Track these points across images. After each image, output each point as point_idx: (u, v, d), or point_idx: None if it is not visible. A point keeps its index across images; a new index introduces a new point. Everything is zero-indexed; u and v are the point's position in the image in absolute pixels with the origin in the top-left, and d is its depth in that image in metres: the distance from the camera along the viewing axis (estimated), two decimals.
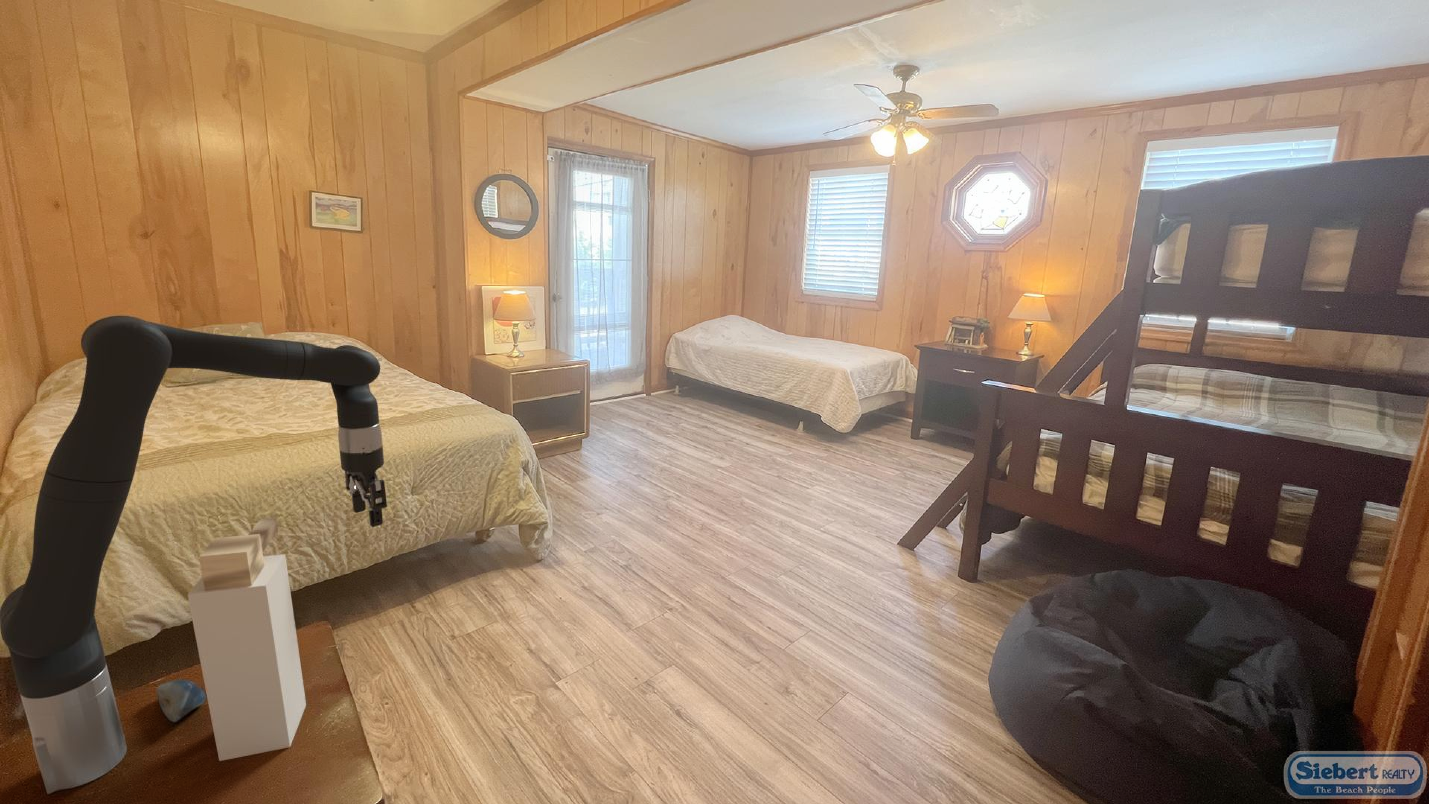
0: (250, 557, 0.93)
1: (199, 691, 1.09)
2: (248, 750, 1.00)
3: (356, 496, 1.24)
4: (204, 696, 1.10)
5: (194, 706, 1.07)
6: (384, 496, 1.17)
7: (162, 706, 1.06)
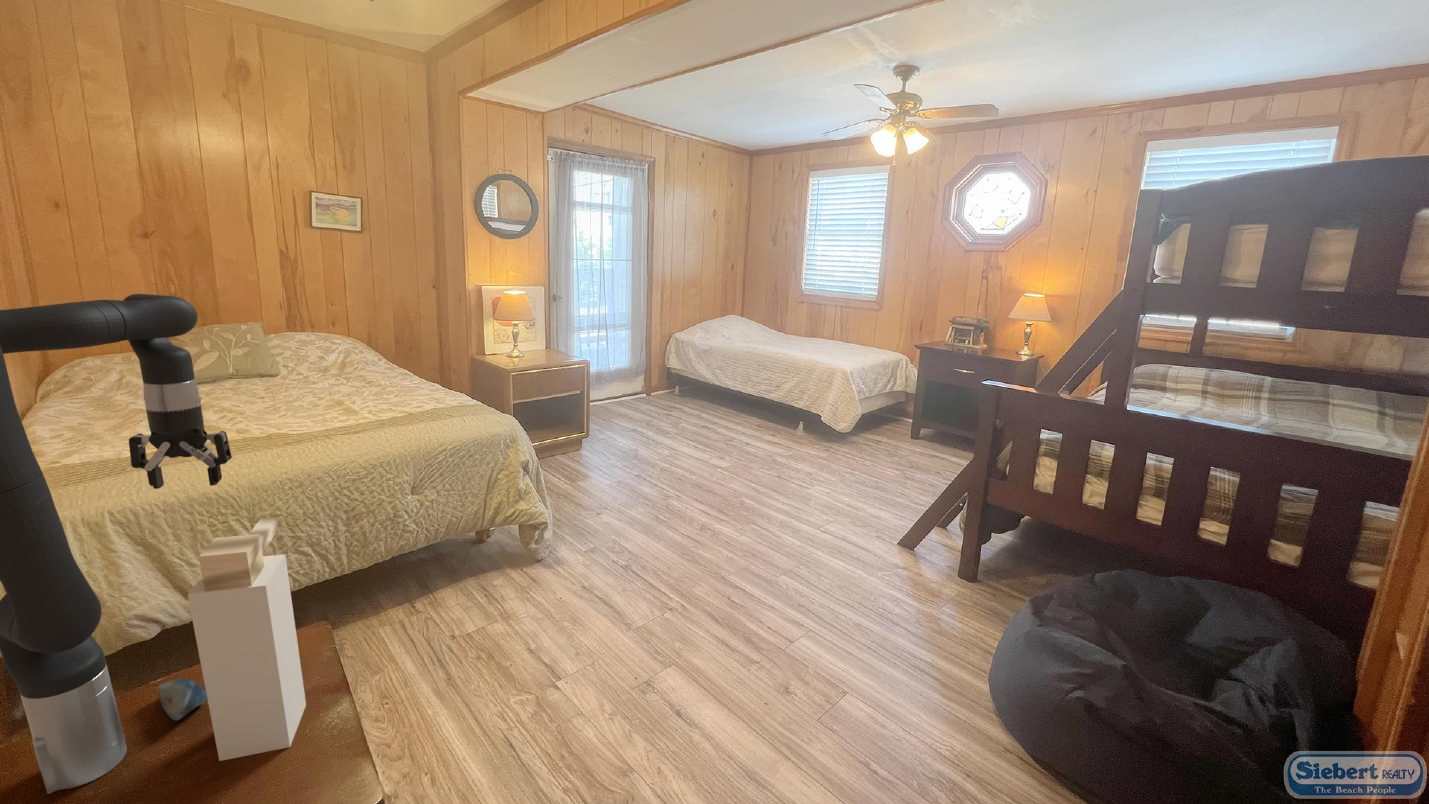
0: (250, 557, 0.93)
1: (201, 690, 1.10)
2: (248, 750, 1.00)
3: (156, 469, 1.10)
4: (206, 695, 1.10)
5: (196, 704, 1.07)
6: (228, 447, 1.14)
7: (164, 705, 1.06)
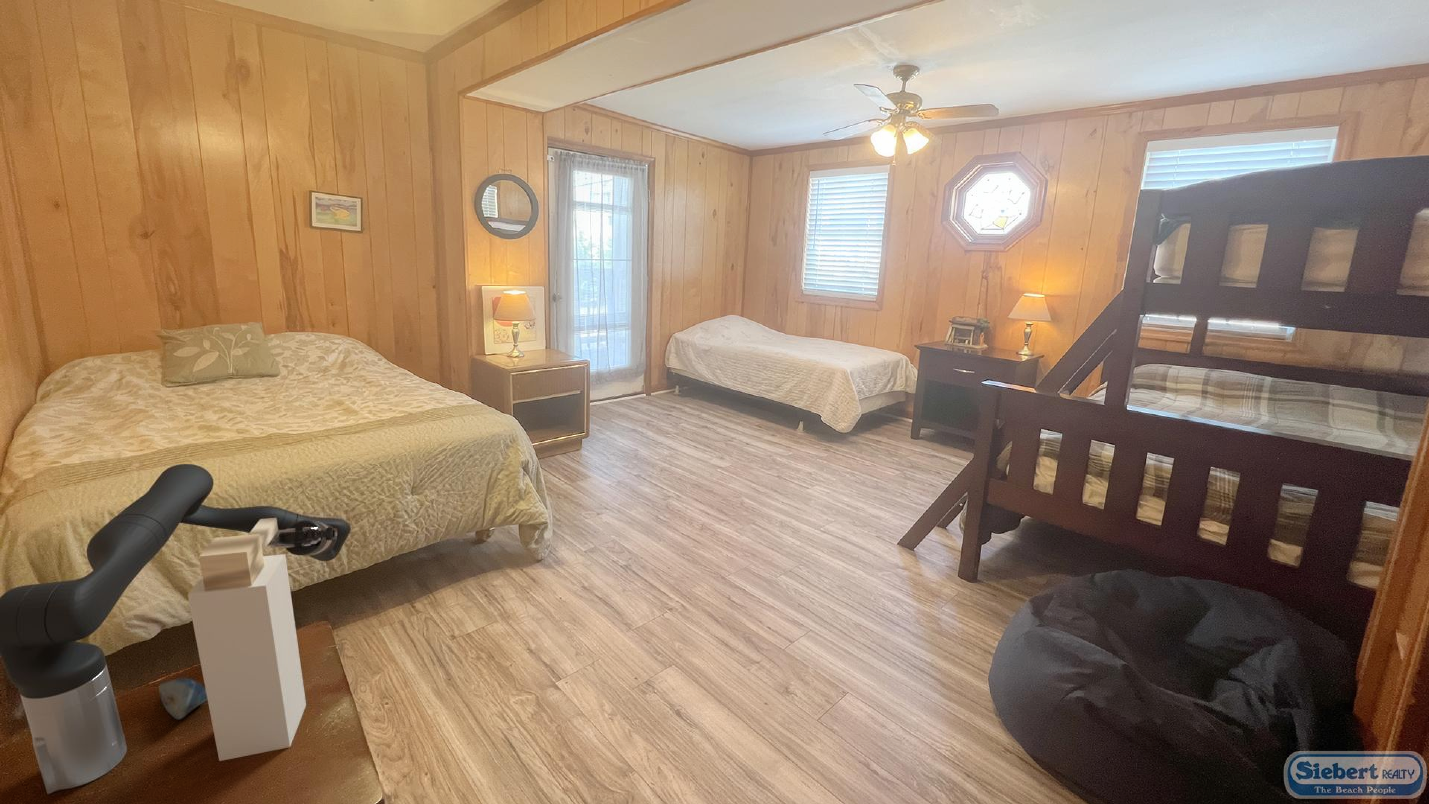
0: (250, 557, 0.93)
1: (202, 688, 1.10)
2: (248, 750, 1.00)
3: None
4: None
5: (198, 703, 1.07)
6: (334, 538, 1.26)
7: (166, 704, 1.06)
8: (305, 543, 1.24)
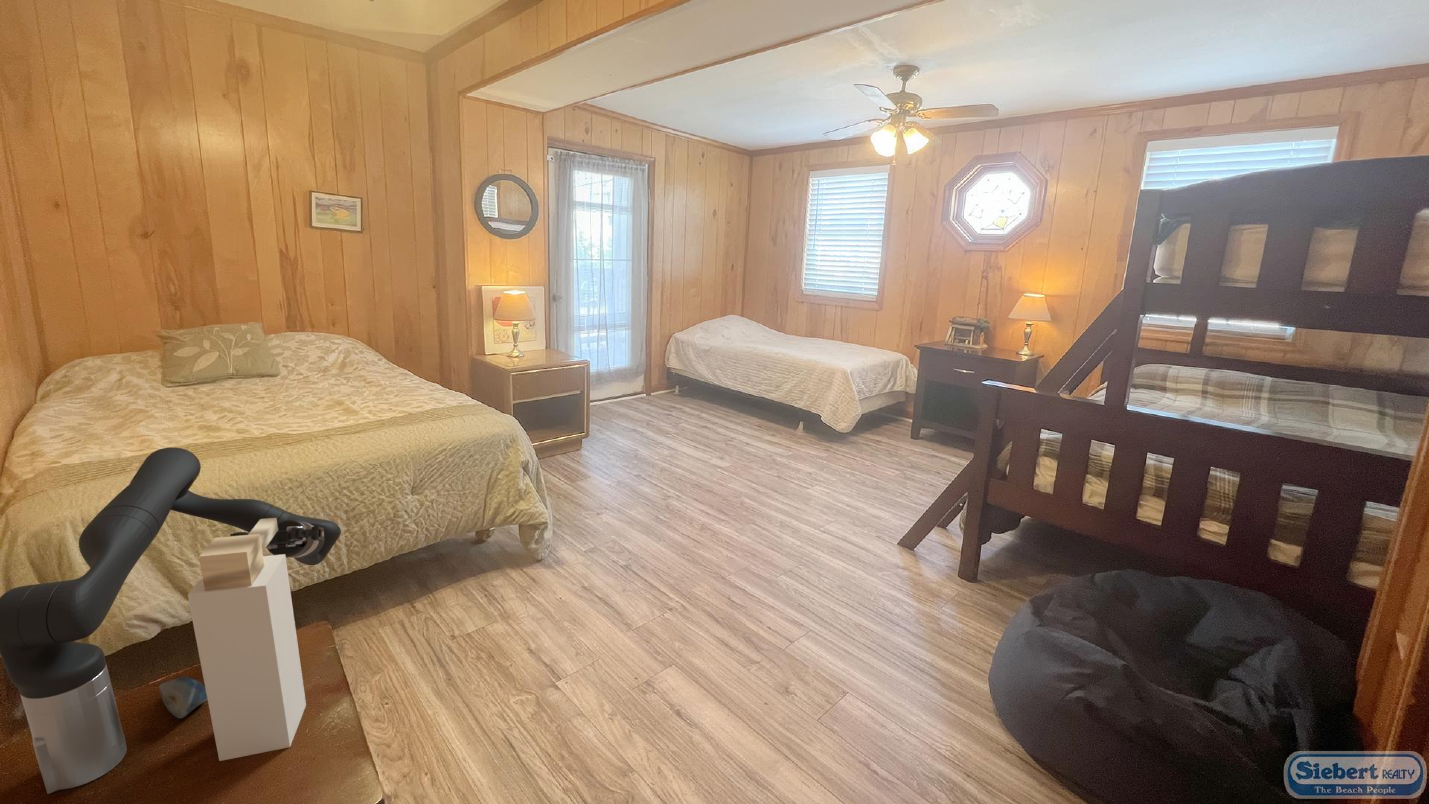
0: (250, 557, 0.93)
1: (203, 688, 1.10)
2: (248, 750, 1.00)
3: None
4: None
5: (200, 702, 1.08)
6: (320, 538, 1.17)
7: (167, 703, 1.06)
8: (289, 543, 1.15)
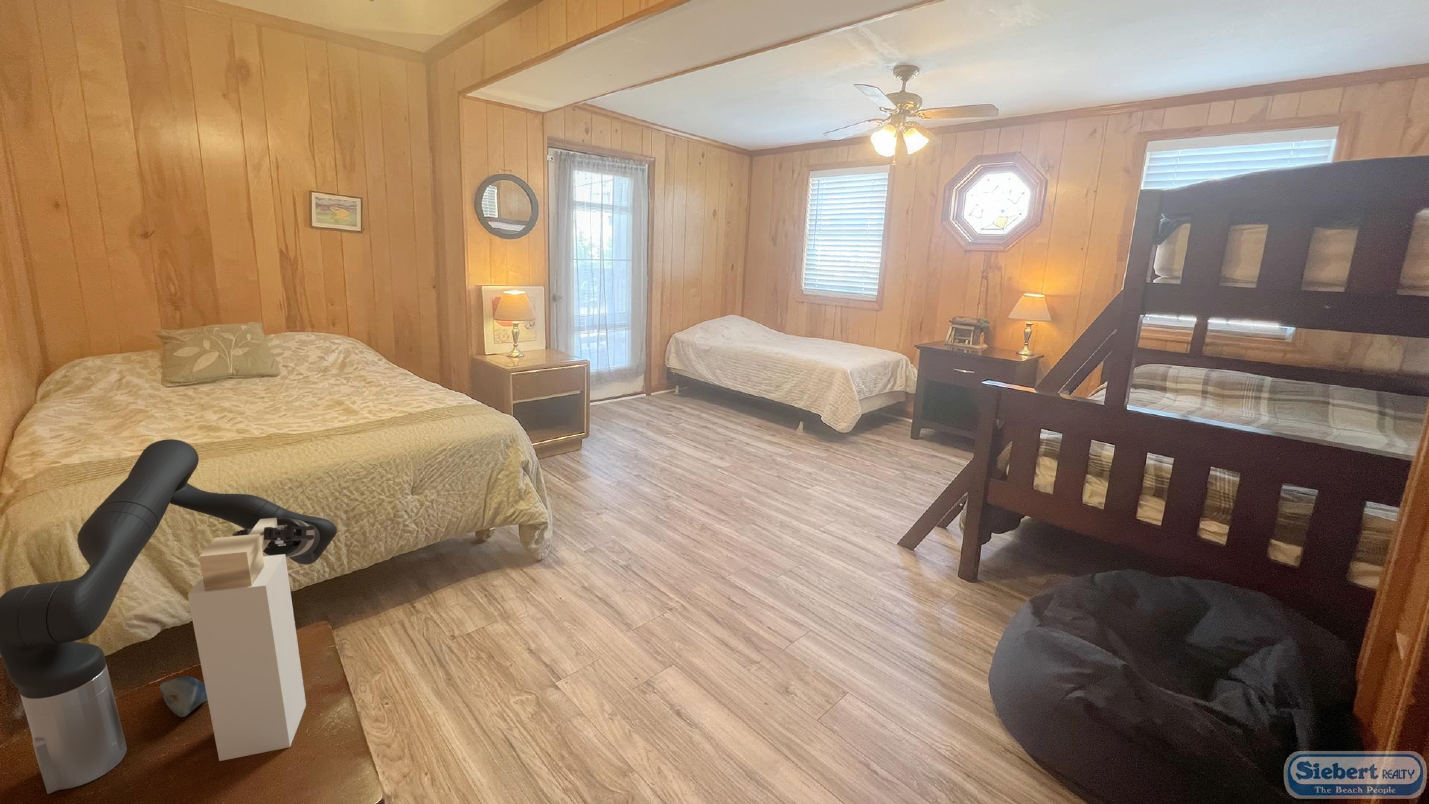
0: (250, 557, 0.93)
1: (204, 686, 1.10)
2: (248, 750, 1.00)
3: None
4: None
5: (202, 700, 1.08)
6: (301, 537, 1.11)
7: (169, 702, 1.06)
8: None
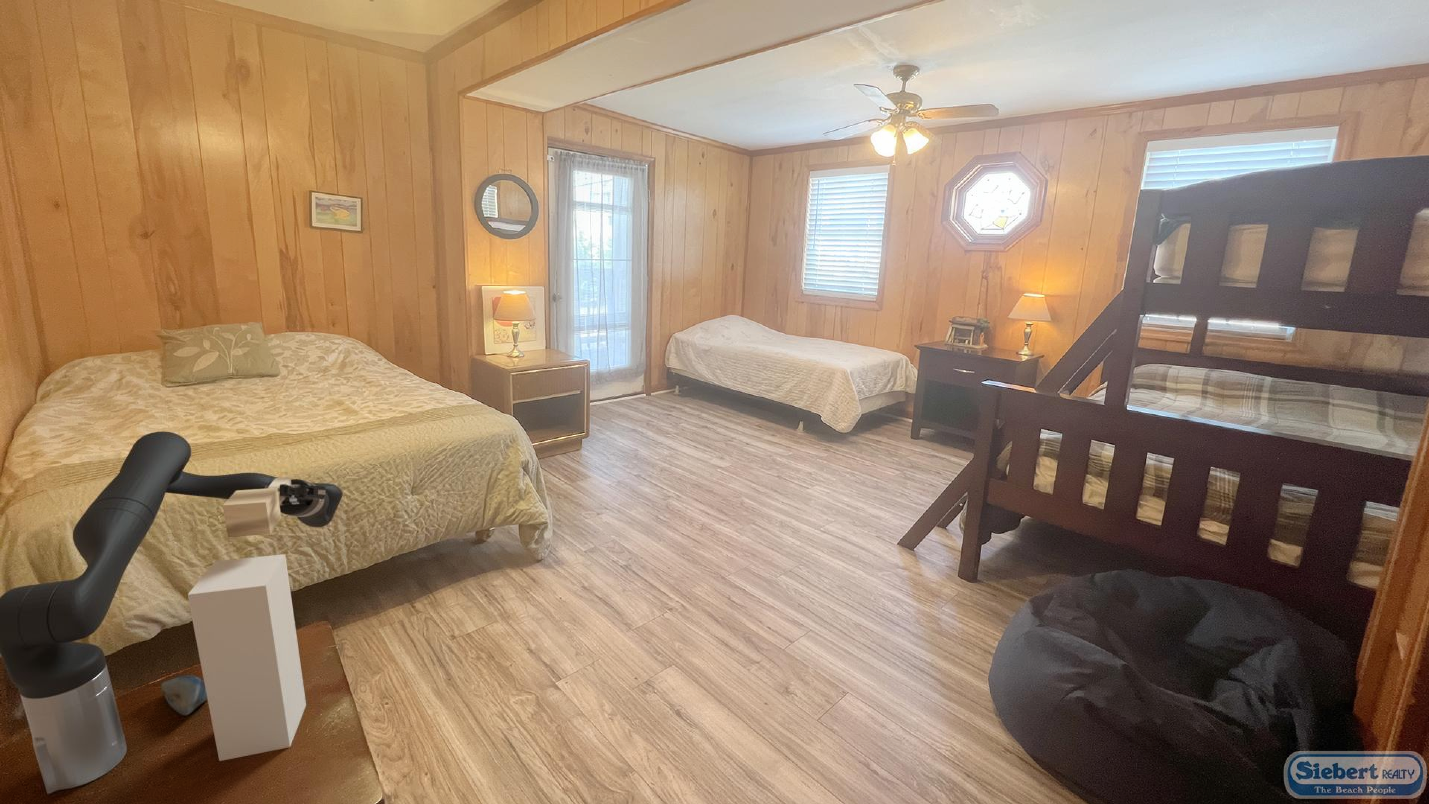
0: (269, 508, 1.02)
1: None
2: (248, 750, 1.00)
3: None
4: None
5: (205, 698, 1.08)
6: (313, 496, 1.19)
7: (171, 701, 1.07)
8: (291, 501, 1.19)
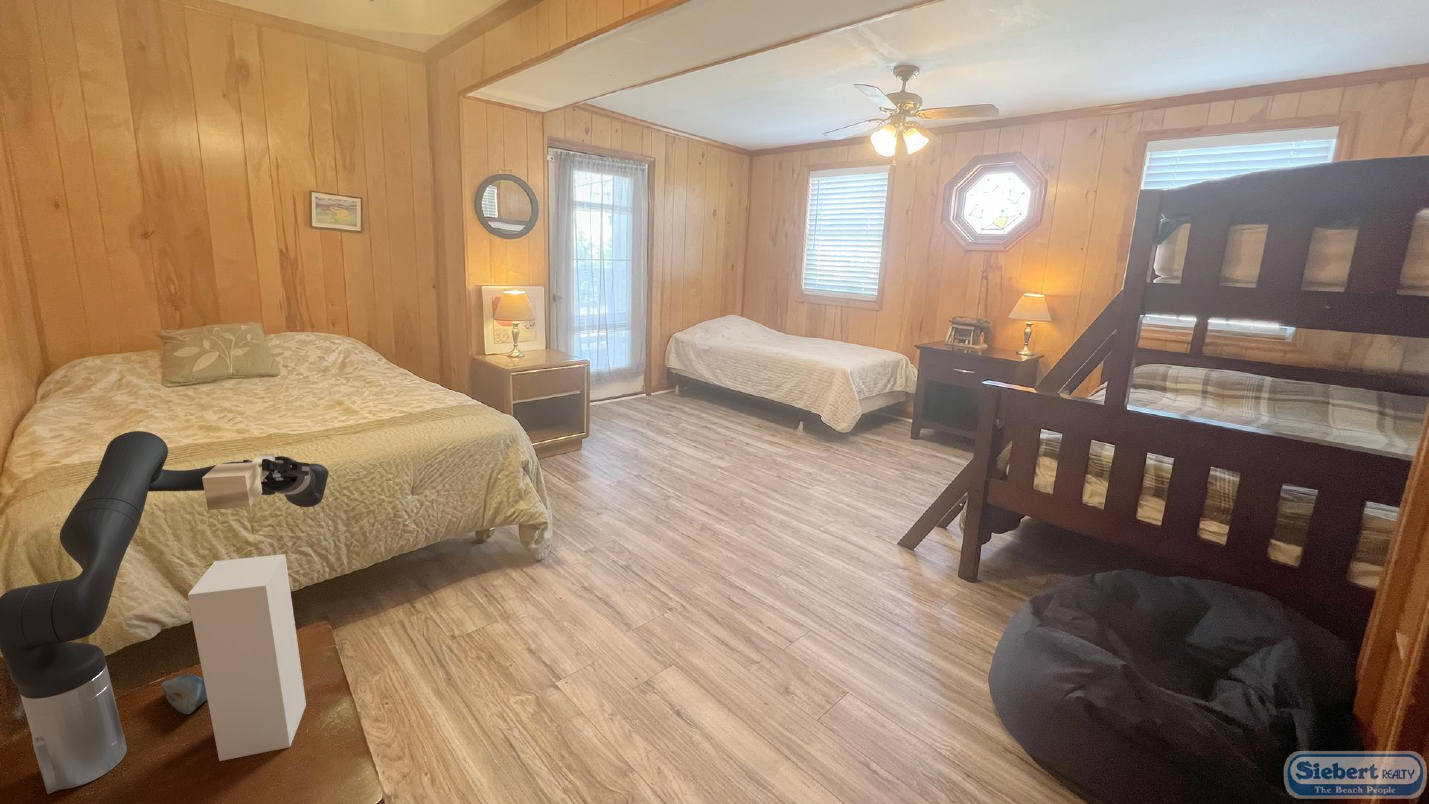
0: (248, 481, 1.03)
1: None
2: (248, 750, 1.00)
3: None
4: None
5: (206, 697, 1.09)
6: (297, 472, 1.20)
7: (172, 700, 1.07)
8: (275, 477, 1.20)
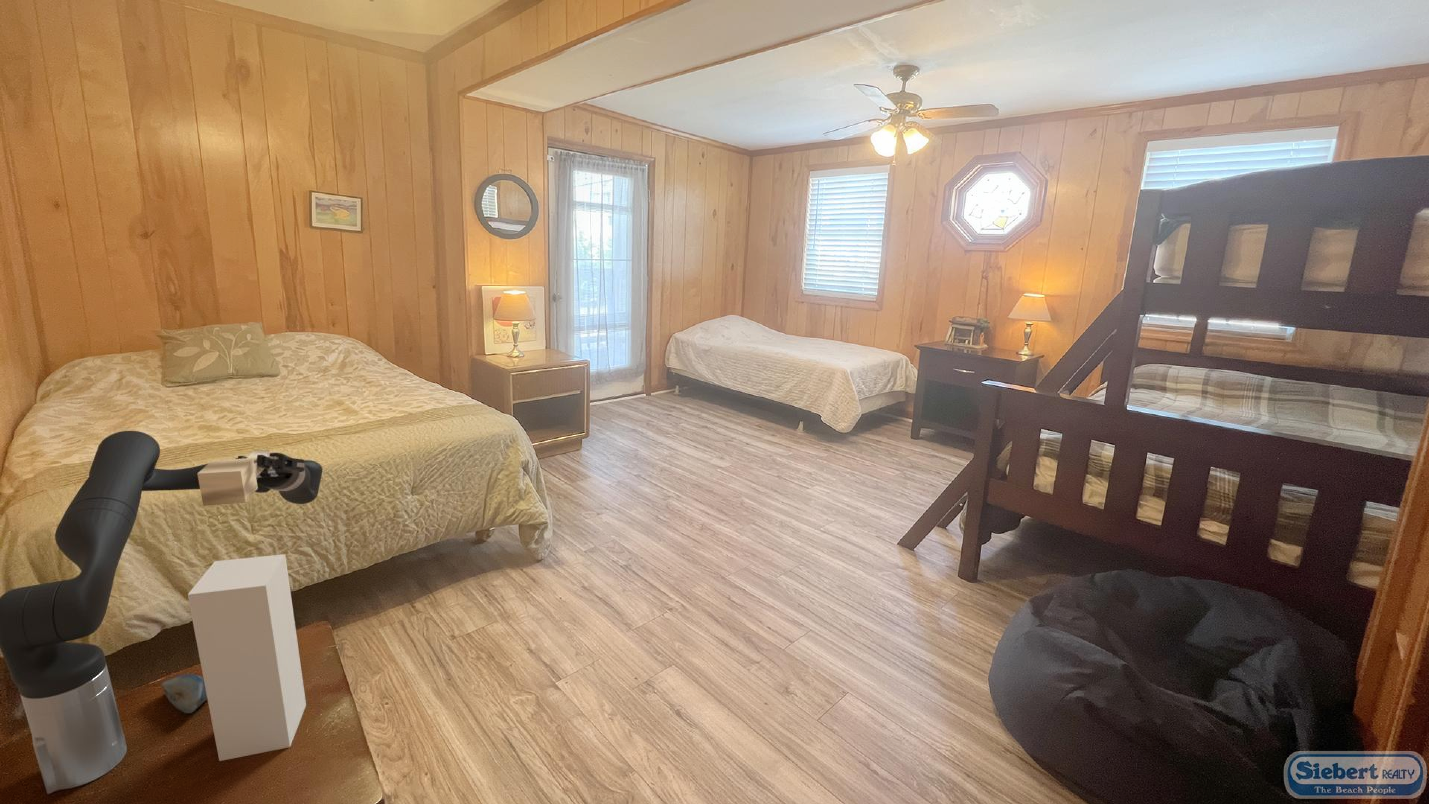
0: (244, 477, 1.03)
1: None
2: (248, 750, 1.00)
3: None
4: None
5: None
6: (292, 468, 1.20)
7: (174, 700, 1.07)
8: (270, 473, 1.20)
